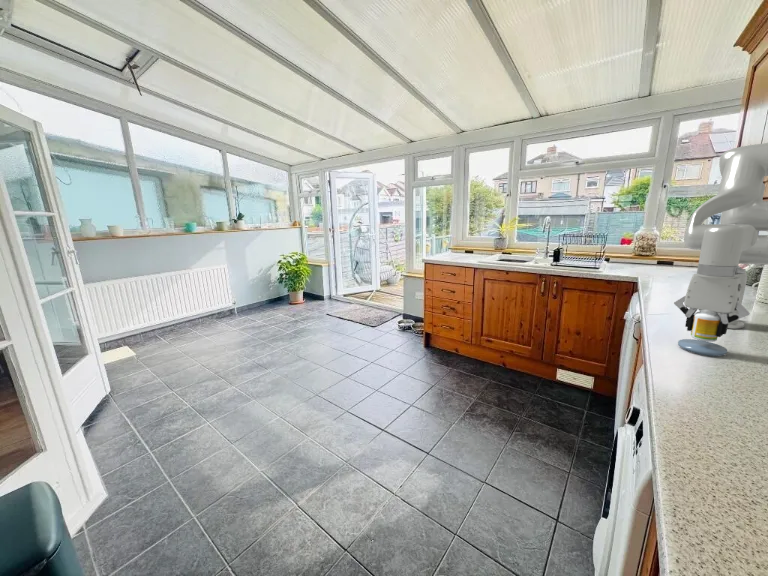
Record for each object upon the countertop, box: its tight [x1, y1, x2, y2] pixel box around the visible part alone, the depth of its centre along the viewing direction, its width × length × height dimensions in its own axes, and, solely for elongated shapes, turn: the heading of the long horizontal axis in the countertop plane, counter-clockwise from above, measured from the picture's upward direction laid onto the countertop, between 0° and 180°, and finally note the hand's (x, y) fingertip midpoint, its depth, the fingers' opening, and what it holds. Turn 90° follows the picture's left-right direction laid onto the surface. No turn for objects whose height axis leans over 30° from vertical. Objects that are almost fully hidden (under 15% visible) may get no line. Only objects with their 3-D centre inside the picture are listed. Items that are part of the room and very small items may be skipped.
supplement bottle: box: [690, 310, 721, 343], centre depth 88 cm, size 5×5×10 cm
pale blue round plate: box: [677, 338, 728, 357], centre depth 90 cm, size 10×10×2 cm
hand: (704, 332), depth 89 cm, fingers closed on supplement bottle, 5 cm apart
